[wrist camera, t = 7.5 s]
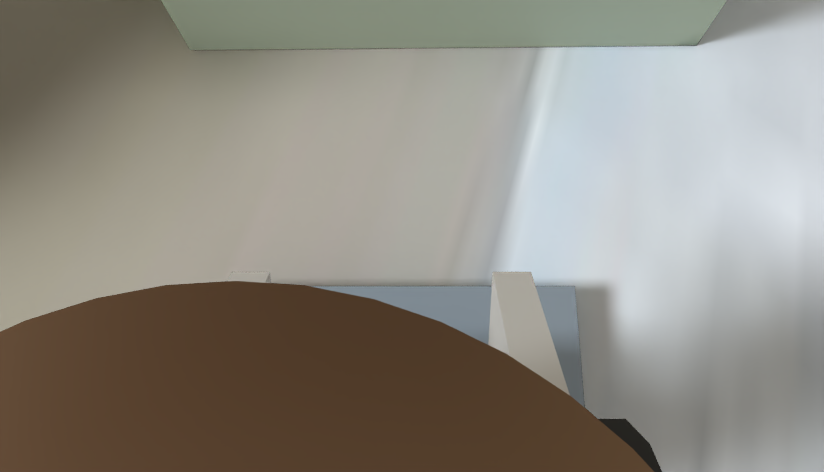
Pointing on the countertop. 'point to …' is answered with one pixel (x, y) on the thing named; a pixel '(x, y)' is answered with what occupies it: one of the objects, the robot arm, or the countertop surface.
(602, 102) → the countertop surface
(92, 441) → the strut
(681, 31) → the bin
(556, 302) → the socket stand
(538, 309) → the robot arm
